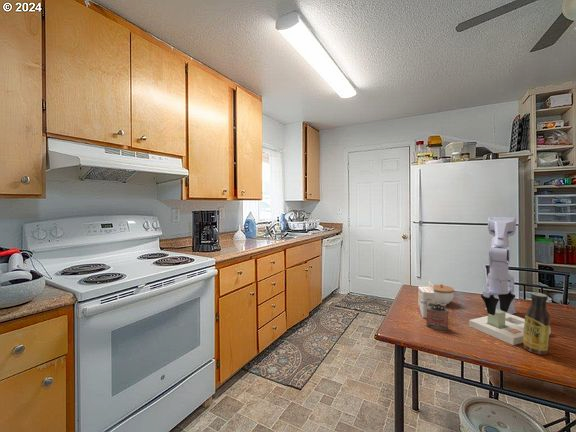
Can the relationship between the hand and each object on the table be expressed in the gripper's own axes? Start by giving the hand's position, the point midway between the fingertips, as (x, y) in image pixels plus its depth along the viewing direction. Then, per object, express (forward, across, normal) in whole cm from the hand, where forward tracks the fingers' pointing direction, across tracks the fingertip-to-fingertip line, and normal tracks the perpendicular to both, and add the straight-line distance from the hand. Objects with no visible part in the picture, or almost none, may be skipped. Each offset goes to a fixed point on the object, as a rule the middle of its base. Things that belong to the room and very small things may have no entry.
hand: (497, 312), depth 105 cm
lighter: (+8, +19, -11) cm, 23 cm away
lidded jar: (+8, -6, -30) cm, 32 cm away
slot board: (+7, -5, +1) cm, 9 cm away
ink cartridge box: (+8, +13, -22) cm, 27 cm away
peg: (+8, 0, 0) cm, 8 cm away
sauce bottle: (+8, +3, +14) cm, 16 cm away
